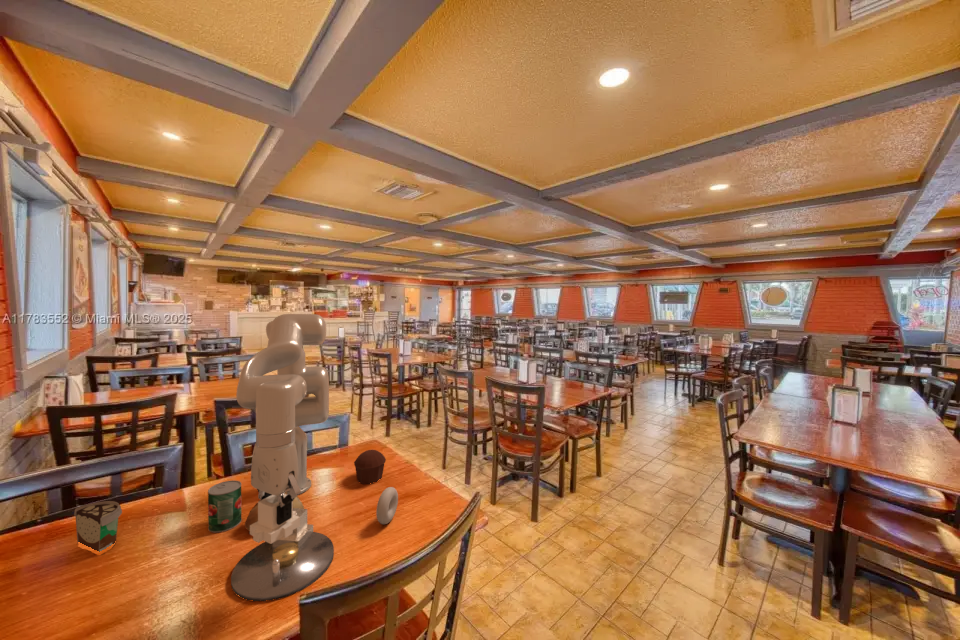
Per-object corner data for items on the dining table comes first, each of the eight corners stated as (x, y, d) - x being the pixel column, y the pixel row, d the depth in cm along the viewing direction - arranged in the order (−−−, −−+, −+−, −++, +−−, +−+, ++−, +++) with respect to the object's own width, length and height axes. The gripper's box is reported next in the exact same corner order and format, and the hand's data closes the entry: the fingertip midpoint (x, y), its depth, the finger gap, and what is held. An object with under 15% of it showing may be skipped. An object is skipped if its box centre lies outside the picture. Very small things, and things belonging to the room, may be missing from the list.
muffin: (379, 487, 125) (380, 459, 125) (348, 486, 125) (349, 458, 125) (389, 471, 137) (389, 446, 136) (360, 470, 137) (361, 445, 137)
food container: (133, 542, 94) (133, 505, 93) (102, 557, 88) (101, 518, 87) (105, 531, 98) (105, 496, 97) (74, 545, 92) (73, 508, 92)
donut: (384, 532, 100) (385, 498, 99) (373, 531, 100) (374, 496, 100) (399, 512, 110) (400, 481, 109) (389, 511, 110) (389, 480, 110)
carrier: (209, 580, 81) (209, 542, 81) (294, 527, 101) (294, 496, 101) (272, 616, 72) (272, 574, 72) (352, 550, 92) (352, 517, 92)
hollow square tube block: (242, 535, 76) (242, 504, 76) (280, 514, 84) (280, 485, 84) (269, 547, 73) (269, 514, 72) (306, 524, 81) (306, 494, 80)
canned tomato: (247, 520, 104) (247, 484, 104) (218, 536, 97) (218, 496, 96) (231, 513, 107) (231, 478, 107) (202, 527, 100) (201, 490, 100)
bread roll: (243, 523, 103) (243, 496, 102) (300, 507, 112) (300, 482, 111) (246, 541, 95) (246, 512, 95) (306, 522, 104) (306, 495, 104)
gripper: (234, 436, 78) (234, 516, 79) (286, 450, 71) (286, 538, 72) (267, 426, 85) (267, 500, 85) (317, 438, 78) (317, 519, 78)
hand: (275, 517), depth 78 cm, fingers closed on hollow square tube block, 4 cm apart
